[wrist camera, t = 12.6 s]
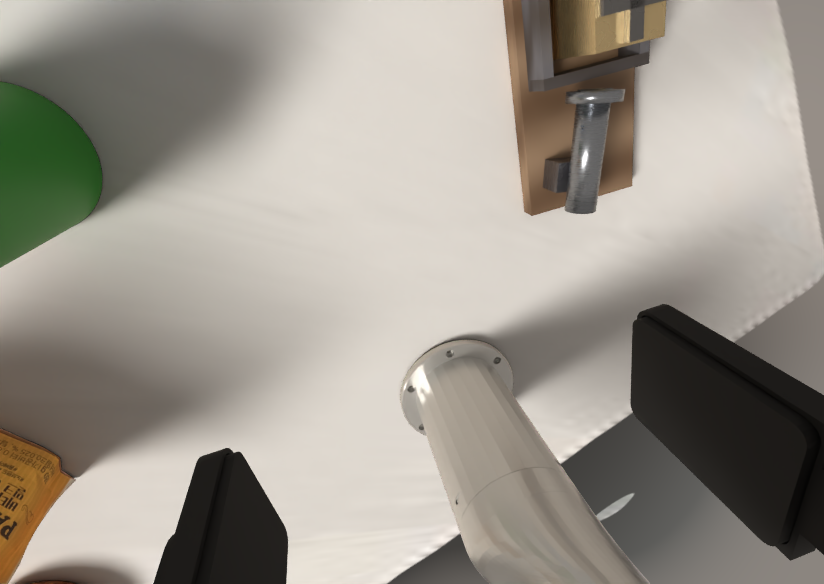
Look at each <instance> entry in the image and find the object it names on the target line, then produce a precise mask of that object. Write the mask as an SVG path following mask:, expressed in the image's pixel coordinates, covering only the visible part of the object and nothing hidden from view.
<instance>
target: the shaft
mask: <svg viewBox="0 0 824 584" xmlns="http://www.w3.org/2000/svg"><path fill="white" fill-rule="evenodd" d="M624 94H625V89H613V88H596V89H579V90H578V91H568V92H566V98H565V104H576V110H575V119H574V128H573V137H572V146H571V156H570V157H565V158H554V159H545V165H544V177H543V188H545V189H547V190H550V191H552V192H555V193H561V192H566V201H565V211H567V212H570V213H576V214H589V213H593V212H595V211H596V206H597V198H598V191H599V184H600V177H601V170H602V163H603V156H604V149H605V142H606V135H607V128H608V121H609V114H610V107H611V103H614V102H623V100H624Z"/></svg>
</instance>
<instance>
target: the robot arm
mask: <svg viewBox="0 0 824 584" xmlns="http://www.w3.org/2000/svg"><path fill="white" fill-rule="evenodd" d="M512 389H513V373H512V369H511V367H510V365H509V363H508V361H507V360H506V358H505V357H504V356H503V355H502V353H501V352H500V351H498V350H497V349H496V348H495V347H493V346H491V345H489V344H487V343H485V342H481V341H477V340H457V341H452V342H448V343H445V344H442V345H440V346H438V347H436V348H433V349H432V350H430V351H429V352H427V353H426V354H424V355H423V356H422V357H421V358H419V359H418V360H417V361H416V362H415V363H414V364H413V366H412V367H411V368H410V370H409V371H408V373H407V375H406V377H405V378H404V380H403V384H402V387H401V393H400V401H401V407H402V410H403V413H404V416H405V418H406V420H407V421H408V423H409V424H410V425H411V426H412V427H413V428H414V429H415V430H416V431H418V432H420V433H421V434H423V435H426V436H427V438H428V441H429V444H430V447H431V450H432V453H433V456H434V459H435V461H436V464H437V467H438V470H439V473H440V476H441V479H442V482H443V485H444V487H445V490H446V493H447V496H448V499H449V502H450V505H451V508H452V511H453V513H454V516H455V519H456V522H457V525H458V528H459V531H460V534H461V536H462V539H463V542H464V545H465V548H466V550H467V553H468V555H469V557H470V559H471V561H472V562H473V564H474V566H475V568H476V569H477V570H478V571H479V573H480V574H481V575H482V576H483V578H484V579H485V580H486V581H487V582H488V583H490V584H650V583H649V581H648V580H647V579H646V578H645V577H644V576H643V575H642V574H641V572H640V571H639V570H638V569H637V568H636V567H635V566H634V564H633V563H632V562H631V561H630V559H629V558H628V557H627V556H626V555H625V554H624V552H623V551H622V550H621V549H620V547H619V546H618V545H617V544H616V542H615V541H614V540H613V538H612V537H611V536H610V534H609V533H608V532H607V531H606V529H605V528H604V527H603V525H602V524H601V523H600V521H599V520H598V518H597V517H596V516H595V514H594V513H593V511H592V510H591V509H590V507H589V506H588V504H587V503H586V501H585V500H584V498H583V497H582V496H581V494H580V493H579V491H578V490H577V488H576V487H575V485H574V484H573V482H572V481H571V480H570V478H569V477H568V475H567V474H566V472H565V471H564V469H563V468H562V466H561V465H560V463H559V462H558V460H557V459H556V457H555V456H554V455H553V453H552V452H551V450H550V449H549V447H548V446H547V444H546V443H545V441H544V440H543V438H542V437H541V435H540V434H539V433H538V431H537V430H536V428H535V427H534V425H533V424H532V422H531V421H530V419H529V418H528V416H527V415H526V414H525V412H524V411H523V409H522V408H521V406H520V405H519V403H518V402H517V400H516V399H515V397H514V396H513V395H512ZM631 408H632V411H633V413H634V414H635V416H636V417H637V418H638V420H639V421H640V422H641V423H642V424H644V426H645V427H646V428H648V429H649V430H650V431H651V432H652V433H653V434H654V435H655V436H656V437H657V438H658V439H659V440H660V441H661V442H662V443H663V444H664V445H665V446H666V447H667V448H668V449H669V450H670V451H671V452H672V453H673V454H674V455H675V456H676V457H677V458H678V459H679V460H680V461H681V462H682V463H683V464H684V465H685V466H686V467H687V468H688V469H689V470H690V471H691V472H692V473H693V474H694V475H695V476H696V477H697V478H698V479H699V480H700V481H701V482H702V483H703V484H704V485H705V486H706V487H707V488H709V490H711V492H712V493H714V494H715V495H716V496H717V497H718V498H719V499H720V500H721V501H722V502H723V503H724V504H725V505H726V506H727V507H728V508H729V509H730V510H731V511H732V512H733V513H734V514H735V515H736V516H737V517H738V518H739V519H740V520H741V521H742V522H743V523H744V524H745V525H746V526H747V527H748V528H749V529H750V530H751V531H752V532H753V533H754V534H755V535H756V536H757V537H758V538H759V539H761V540H762V541H763V542H764V543H766V544H767V545H770V546H776V547H777V548H778V549H779V550H780V551H781V552H782V553H783V554H784V555H785V556H786V557H787V558H788V559H789V560H793V559H795V558H798V557H800V556H803V555H805V554H808V553H810V552H812V551H815V549H816V548H817V549H818V550H819V551H820V552H821V553H822V554H823V555H824V395H822V394H821V393H819V392H817V391H815V390H814V389H812V388H810V387H809V386H807V385H805V384H803V383H802V382H800V381H798V380H796V379H795V378H793V377H791V376H790V375H788V374H786V373H785V372H783V371H781V370H779V369H778V368H776V367H774V366H772V365H771V364H769V363H767V362H766V361H764V360H762V359H760V358H759V357H757V356H755V355H754V354H752V353H750V352H749V351H747V350H745V349H743V348H742V347H740V346H738V345H737V344H735V343H733V342H731V341H730V340H728V339H726V338H725V337H723V336H721V335H719V334H718V333H716V332H714V331H713V330H711V329H709V328H707V327H706V326H704V325H702V324H700V323H699V322H697V321H695V320H694V319H692V318H690V317H688V316H687V315H685V314H683V313H682V312H680V311H678V310H676V309H675V308H673V307H671V306H669V305H667V304H662V305H659V306H656V307H653V308H650V309H647V310H644V311H642V312H640V313H639V314H638V316H637V320H635V321H634V322H633V334H632V370H631ZM287 554H288V537H287V532H286V529H285V526H284V524H283V523H282V521H281V519H280V517H279V516H278V514H277V512H276V511H275V509H274V507H273V506H272V504H271V502H270V500H269V499H268V497H267V495H266V494H265V492H264V490H263V489H262V487H261V485H260V483H259V482H258V480H257V478H256V477H255V475H254V473H253V471H252V470H251V468H250V466H249V465H248V463H247V461H246V460H245V458H244V456H243V455H242V453H241V452H235V453H233V451H232V450H231V449H229V448H225V449H222V450H219V451H216V452H213V453H210V454H207V455H204V456H201V457H200V458H199V459H198V461H197V463H196V466H195V469H194V473H193V476H192V479H191V482H190V486H189V489H188V492H187V496H186V499H185V502H184V505H183V509H182V512H181V515H180V518H179V522H178V525H177V528H176V532H175V534H174V535H173V536H172V537H171V538H170V539H169V540H168V542H167V544H166V547H165V549H164V552H163V555H162V558H161V561H160V564H159V568H158V571H157V574H156V577H155V580H154V583H153V584H286V576H287Z"/></svg>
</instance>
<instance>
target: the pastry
mask: <svg viewBox="0 0 824 584" xmlns="http://www.w3.org/2000/svg"><path fill="white" fill-rule="evenodd" d="M31 584H74V583H71V582H62V581H44V582H35V583H31Z"/></svg>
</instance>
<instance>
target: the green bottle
mask: <svg viewBox="0 0 824 584" xmlns="http://www.w3.org/2000/svg"><path fill="white" fill-rule="evenodd" d="M101 190H102V171H101V165H100V162H99V158H98V156H97V153H96V151H95V149H94V147H93V145H92V143H91V141H90V140H89V138H88V137H87V135H86V134H85V132H84V131H83V130H82V128H81V127H80V126H79V125H78V124H77V123H76V122H75V121H74V120H73V118H71V117H70V116H69V115H68V114H67V113H66V112H65V111H64V110H62V109H61V108H60V107H58V106H57V105H56V104H54V103H53V102H51V101H50V100H48V99H46V98H45V97H43V96H41V95H39V94H37V93H35V92H33V91H31V90H28V89H26V88H23V87H20V86H17V85H14V84H10V83H5V82H0V268H1V267H2V266H4V265H6V264H8V263H9V262H11V261H13V260H15V259H17V258H18V257H20V256H22V255H24V254H25V253H27V252H29V251H31V250H32V249H34V248H36V247H38V246H39V245H41V244H43V243H45V242H46V241H48V240H50V239H52V238H53V237H55V236H57V235H59V234H60V233H62V232H64V231H66V230H67V229H69V228H71V227H73V226H74V225H76V224H78V223H80V222H81V221H82V220H84V219H85V218H86V217H87V216H88V215H89V214H90V213H91V212H92V211H93V209H94V208H95V206H96V204H97V202H98V200H99V197H100V194H101Z"/></svg>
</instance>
